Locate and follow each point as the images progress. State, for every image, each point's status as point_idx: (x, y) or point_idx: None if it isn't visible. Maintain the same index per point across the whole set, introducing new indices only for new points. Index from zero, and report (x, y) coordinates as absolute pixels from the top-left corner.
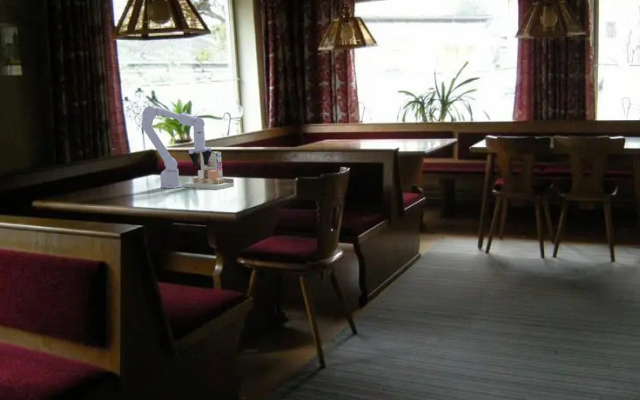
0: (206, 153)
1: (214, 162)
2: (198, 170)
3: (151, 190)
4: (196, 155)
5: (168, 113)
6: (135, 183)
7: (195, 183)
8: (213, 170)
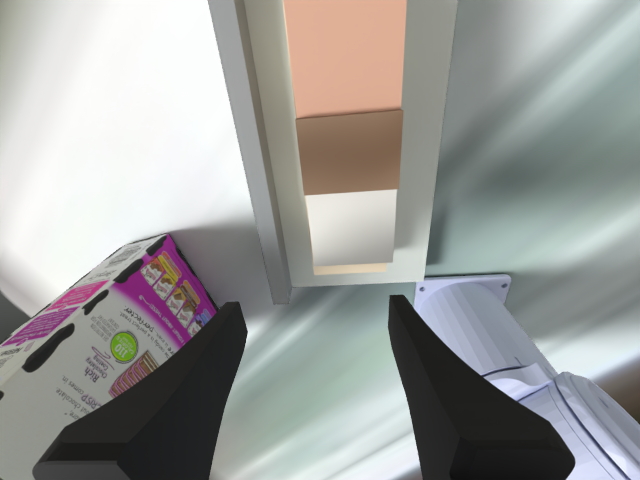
0: (166, 460)
1: (85, 356)
2: (389, 258)
3: (580, 322)
4: (528, 421)
5: None
6: (406, 467)
7: (415, 203)
8: (317, 79)
